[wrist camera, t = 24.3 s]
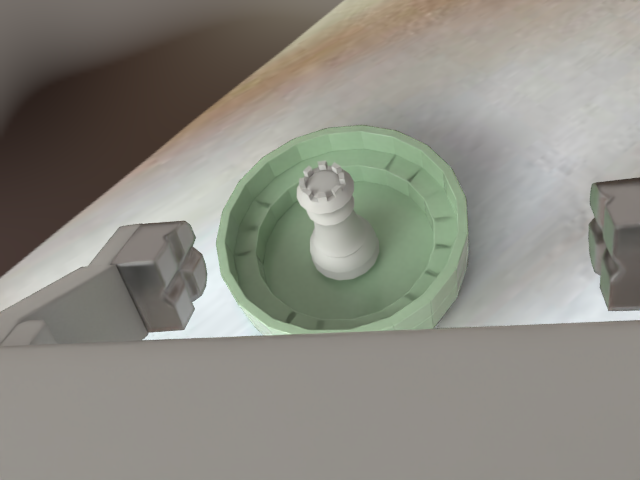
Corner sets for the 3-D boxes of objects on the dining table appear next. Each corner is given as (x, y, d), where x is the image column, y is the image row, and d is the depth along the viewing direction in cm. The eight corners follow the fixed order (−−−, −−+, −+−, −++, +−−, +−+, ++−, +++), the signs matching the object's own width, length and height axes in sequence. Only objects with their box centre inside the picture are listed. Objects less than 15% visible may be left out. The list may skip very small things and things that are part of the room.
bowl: (334, 135, 45) (323, 95, 42) (514, 227, 38) (519, 188, 34) (194, 282, 41) (168, 251, 37) (368, 418, 33) (356, 395, 30)
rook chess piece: (300, 250, 39) (266, 176, 33) (354, 213, 40) (332, 133, 34) (337, 297, 37) (309, 227, 30) (394, 256, 38) (379, 180, 31)
